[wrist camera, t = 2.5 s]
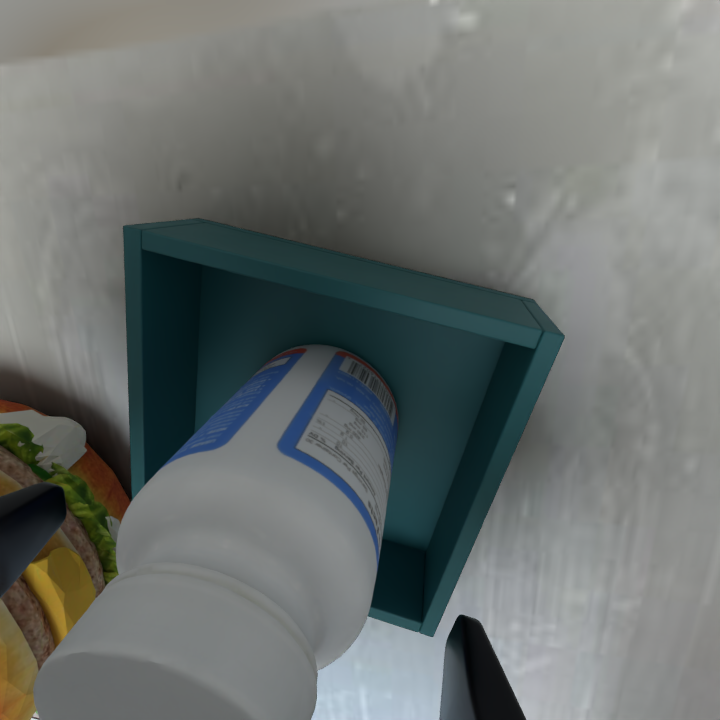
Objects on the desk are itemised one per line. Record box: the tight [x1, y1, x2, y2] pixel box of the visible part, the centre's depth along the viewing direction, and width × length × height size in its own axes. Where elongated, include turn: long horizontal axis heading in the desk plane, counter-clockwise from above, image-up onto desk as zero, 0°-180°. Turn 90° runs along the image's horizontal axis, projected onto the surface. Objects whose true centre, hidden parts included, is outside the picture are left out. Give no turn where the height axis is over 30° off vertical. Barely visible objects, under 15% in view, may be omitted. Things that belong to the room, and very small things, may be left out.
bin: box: [123, 218, 565, 637], centre depth 14 cm, size 11×11×4 cm
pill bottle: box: [33, 344, 398, 720], centre depth 10 cm, size 6×5×10 cm
